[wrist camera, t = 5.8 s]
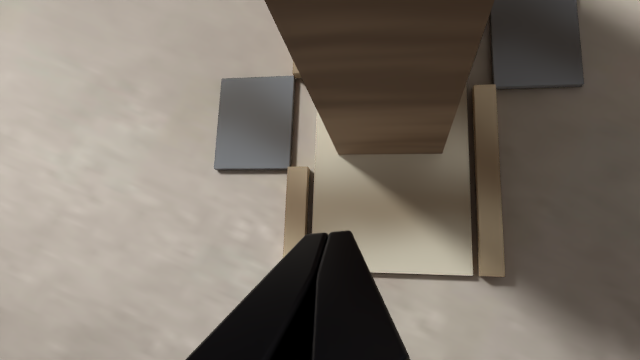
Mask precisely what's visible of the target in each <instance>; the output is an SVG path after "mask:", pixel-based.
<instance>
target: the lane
mask: <svg viewBox="0 0 640 360" xmlns="http://www.w3.org/2000/svg"><path fill="white" fill-rule="evenodd" d="M490 31H491V52H492V73H493V84H488V85H474V86H473V89H472V103H473V131H474V158H475V185H476V212H477V239H478V266H479V276H491V277H505V264H504V243H503V223H502V202H501V181H500V161H499V140H498V120H497V99H496V89H519V88H549V87H580V86H582V85H583V84H584V78H583V67H582V56H581V45H580V34H579V23H578V13H577V2H576V0H494V3H493V6H492V9H491V12H490ZM293 75H294V76H276V77H251V78H226V79H222V81H221V92H220V104H219V115H218V127H217V138H216V150H215V161H214V169H215V170H288V171H287V190H286V210H285V229H284V248H283V258H284V257H285V256H286V255H287V253H288V252H289V251H290V250H291V249H292V248H293V247H294V246H295V245H296V244H297V243H298V242H299V241H300V240H301V239H302V238H303V237H304V236H305V235H307V224H308V200H309V176H310V169H309V168H308V167H291V150H292V130H293V110H294V90H295V78H301V75H300V73H299V71H298V69H297V67H296V65H295V63H294V61H293ZM346 230H349V231H351V232H352V234H353V236H354V238H355V240H356V242H357V245H358V247H359V249H360V251H361V253H362V255H363V257H364V260H365V262H366V264H367V266H368V268H369V270H370V272H373V273H402V274H432V275H462V276H473V262H472V232H471V203H470V174H469V145H468V115H467V86H466V85H465V88H464V91H463V94H462V97H461V100H460V103H459V106H458V109H457V112H456V115H455V118H454V120H453V123H452V126H451V129H450V132H449V135H448V138H447V141H446V144H445V147H444V150H443V153H442V154H362V155H338V153H337V151H336V149H335V147H334V145H333V142H332V140H331V138H330V136H329V134H328V132H327V130H326V128H325V126H324V124H323V122H322V119H321V117H320V115H319V113H318V111H317V119H316V144H315V169H314V195H313V220H312V233H324V232H325V233H327V234H328V235H329V233H330V232H335V231H346Z"/></svg>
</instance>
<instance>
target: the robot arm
mask: <svg viewBox="0 0 640 360" xmlns="http://www.w3.org/2000/svg"><path fill="white" fill-rule="evenodd" d="M186 360H410V358H409V355H408V353H407V351H406V348H405V346H404V344H403V342H402V340H401V338H400V335H399V333H398V331H397V329H396V327H395V325H394V322H393V320H392V318H391V316H390V314H389V312H388V309H387V307H386V305H385V303H384V301H383V299H382V296H381V294H380V292H379V290H378V288H377V286H376V283H375V281H374V279H373V277H372V275H371V273H370V270H369V268H368V266H367V264H366V262H365V260H364V257H363V255H362V253H361V251H360V249H359V247H358V245H357V242H356V240H355V238H354V236H353V234H352V232H351V231H349V230H346V231H335V232H330V233H329V235H328V234H327V233H325V232H324V233H312V234H307V235H305V236H304V237H303V238H302V239H301V240H300V241H299V242H298V243H297V244H296V245H295V246H294V247H293V248H292V249H291V250H290V251H289V252H288V253H287V255H286V256H285V257H284V258H283V259H282V260H281V261H280V262H279V263H278V264H277V265H276V266H275V267H274V268H273V269H272V270H271V271H270V272H269V273H268V274H267V275H266V276H265V277H264V278H263V279H262V281H261V282H260V283H259V284H258V285H257V286H256V287H255V288H254V289H253V290H252V291H251V292H250V293H249V294H248V295H247V296H246V297H245V298H244V299H243V300H242V301H241V302H240V303H239V304H238V306H237V307H236V308H235V309H234V310H233V311H232V312H231V313H230V314H229V315H228V316H227V317H226V318H225V319H224V320H223V321H222V322H221V323H220V324H219V325H218V326H217V327H216V328H215V329H214V331H213V332H212V333H211V334H210V335H209V336H208V337H207V338H206V339H205V340H204V341H203V342H202V343H201V344H200V345H199V346H198V347H197V348H196V349H195V350H194V351H193V352H192V353H191V354H190V355H189V357H188V358H187V359H186Z"/></svg>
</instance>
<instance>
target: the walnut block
mask: <svg viewBox="0 0 640 360" xmlns="http://www.w3.org/2000/svg"><path fill="white" fill-rule="evenodd" d="M265 2H266V4H267V6H268V8H269V11H270V13H271V15H272V17H273V19H274V21H275V23H276V25H277V27H278V29H279V32H280V34H281V36H282V38H283V40H284V42H285V44H286V46H287V48H288V50H289V52H290V55H291V57H292V59H293V61H294V63H295V65H296V67H297V69H298V71H299V73H300V75H301V78H302V80H303V82H304V84H305V86H306V88H307V90H308V92H309V94H310V96H311V99H312V101H313V103H314V105H315V107H316V109H317V111H318V113H319V115H320V117H321V119H322V122H323V124H324V126H325V128H326V130H327V132H328V134H329V136H330V138H331V140H332V142H333V145H334V147H335V149H336V151H337V153H338V155H362V154H442V153H443V150H444V147H445V144H446V141H447V138H448V135H449V132H450V129H451V126H452V123H453V120H454V118H455V115H456V112H457V109H458V106H459V103H460V100H461V97H462V94H463V91H464V88H465V85H466V82H467V79H468V77H469V74H470V71H471V68H472V65H473V62H474V59H475V56H476V53H477V50H478V47H479V44H480V41H481V38H482V36H483V33H484V30H485V27H486V24H487V21H488V18H489V15H490V12H491V9H492V6H493V3H494V0H265Z"/></svg>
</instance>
